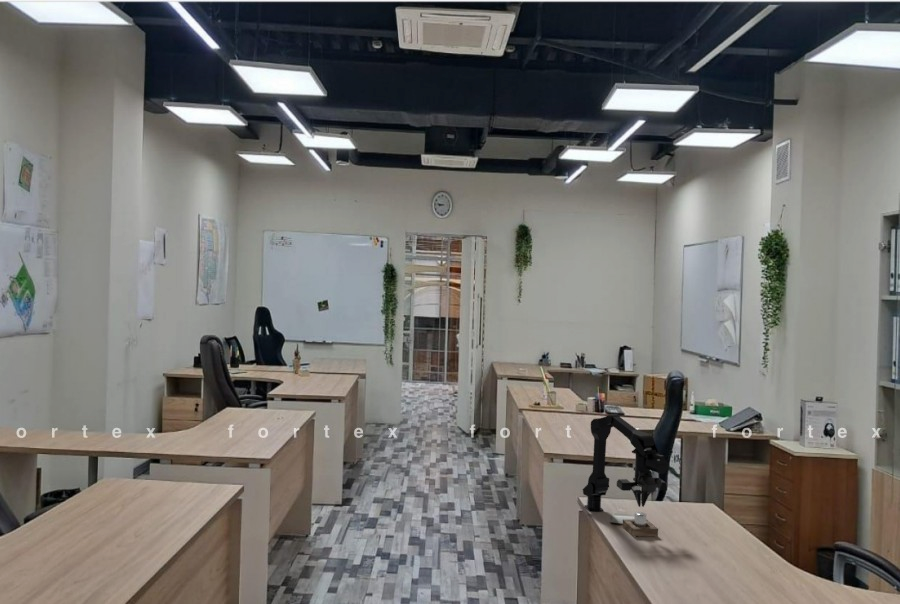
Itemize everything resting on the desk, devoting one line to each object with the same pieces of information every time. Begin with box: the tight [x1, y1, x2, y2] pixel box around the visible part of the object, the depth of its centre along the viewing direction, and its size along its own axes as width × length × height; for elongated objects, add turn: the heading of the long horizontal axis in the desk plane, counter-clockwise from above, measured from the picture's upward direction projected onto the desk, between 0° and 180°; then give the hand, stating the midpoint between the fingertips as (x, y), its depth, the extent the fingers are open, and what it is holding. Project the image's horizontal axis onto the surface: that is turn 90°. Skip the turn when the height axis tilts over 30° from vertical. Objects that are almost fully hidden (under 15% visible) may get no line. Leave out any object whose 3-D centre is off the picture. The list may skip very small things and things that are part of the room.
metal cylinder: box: [634, 511, 647, 527], centre depth 247 cm, size 4×4×7 cm
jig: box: [622, 518, 659, 538], centre depth 247 cm, size 10×10×3 cm
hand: (641, 506), depth 247 cm, fingers closed
